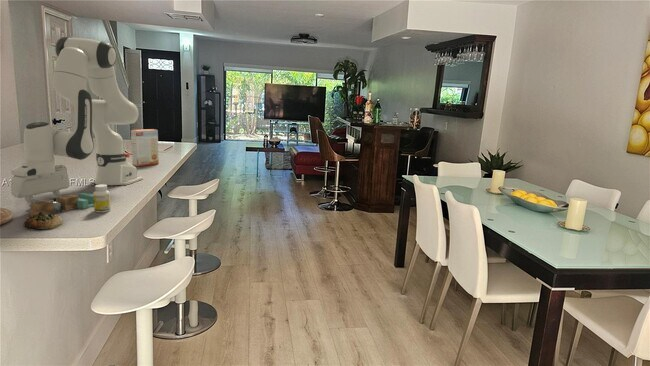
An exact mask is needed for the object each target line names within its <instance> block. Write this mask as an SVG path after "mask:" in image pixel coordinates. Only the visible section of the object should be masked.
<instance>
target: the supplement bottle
mask: <svg viewBox="0 0 650 366" xmlns="http://www.w3.org/2000/svg"><path fill="white" fill-rule="evenodd" d="M94 188H95V191H94V192H93V193H92V194H93V195H94V206H93V208H94V209H93V210H94V212H95V213H108V212H110V211H111V194H110V191H109V190H108V185H104V184H100V185H99V184H96V185H94Z"/></svg>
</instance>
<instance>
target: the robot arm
mask: <svg viewBox="0 0 650 366" xmlns="http://www.w3.org/2000/svg"><path fill="white" fill-rule="evenodd" d="M55 43H56V44H55V47H54V48H55V49H54V51H55V54H56V56H57V59H56V61H55V66H54V71H53V74H52V75H53V76H52V87H53V90H54V92H55V93H56V94H57V95H58V96H59V97H61V98H62V99H64V100H66V101H67V102H69V103H70V104H71V105H72V106H73V108H74V129H73V131H67V130H60V129H58V128H55V127H54V126H52V125H51V124H50V123H49V122H45V121H40V122H38V121H37V122H31V123H28V124H27V125H25V127H24V130H23V148H24V152H25V159H24V161H25V162H24V163H21V164H20V165H18V166H15V167H13V168H12V169H11V171H10V173H11V175H12V178H11V180H10V194H11V195H12V196H13V197H14V198H17V199H18V198H19V199H21V198H22V199H23V198H24V199H25V200H26V202H27V203H28V207H29V208H30V204H31V203H36V202H33V201H32V199H34V196H37V195H41V194H46V193H52V195H51V197H49V201H52V202H57V197H59V195H60V191H61V190H66V189H69V187H70V178H69V174H68V168H67V167H66V166H65V165H64V164H58V165H57V164H56V162H55V161H56V160H55V156H56V157H57V156H58V157H64V158H71V159H73V160H79V161H83V160H85V159H87V158H88V157H89V156H90V155H91V154H92V153H93V151H94V146H95V145H94V139H93V138H95V142H96V154H95V160H96V172H95V174H96V175H95V178H94V184H96V185H100V184H104V185H107V186H119V185H120V186H121V185H122V186H124V185H125V186H126V185H127V186H128V185H130V184H133V183H136V182H139V181H142V180H144V178H143V176H140V175H139V174H138V169H137V166H135V165H132V163H130V162H129V161H128V160H127V158H130V157H131V153H126V152H125V153H124V143H123V142H124V140H123V139H124V138H123V137H122V136H121V134H120V133H118V132H115V131H114V130H112V129H111V127H110V125H132V124H135V123H136V122H137V120H138V119H139V115H140V113H139V109H138V107H137V105H136V104H135V103H134V102H132V101H130V100H129V99H128V98H126V97H125V96H124V95H123V93H122V92H121V90H120V88H119V85H118V81H117V75H116V71H115V66H114V65H115V63H116V61H117V51H116V49H115V47H114V46H113V45H112V44H111V43H109V42H106V41H103V40H101V41H100V40H96V39H92V38H84V37H83V38H82V37H72V36H63V37H60V38H59V39H58V40H57V41H56V42H55ZM87 83H88V84H87ZM87 85H89V89H90V90H91V92H92V94H94V96H97V97H98V98H101V99H95V98H94V99H92V96H91V94H90V92H88V86H87ZM93 134H94V136H95V137H93Z"/></svg>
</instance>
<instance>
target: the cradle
mask: <svg viewBox="0 0 650 366" xmlns="http://www.w3.org/2000/svg"><path fill="white" fill-rule="evenodd" d="M91 207H94V195H93V193H89V192H87V193H86V192H80V193H78V200H77V208H76V209H82V210H85V209H88V208H91Z"/></svg>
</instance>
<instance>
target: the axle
mask: <svg viewBox="0 0 650 366" xmlns="http://www.w3.org/2000/svg"><path fill="white" fill-rule="evenodd" d="M44 200H45V199H41V198H32V201H33V202H40V201H44ZM51 202H52V201H51ZM53 206H54V214H59V213H62V212H63V211H64V210H63V205H62V204H61V203H57V202H53Z"/></svg>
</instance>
